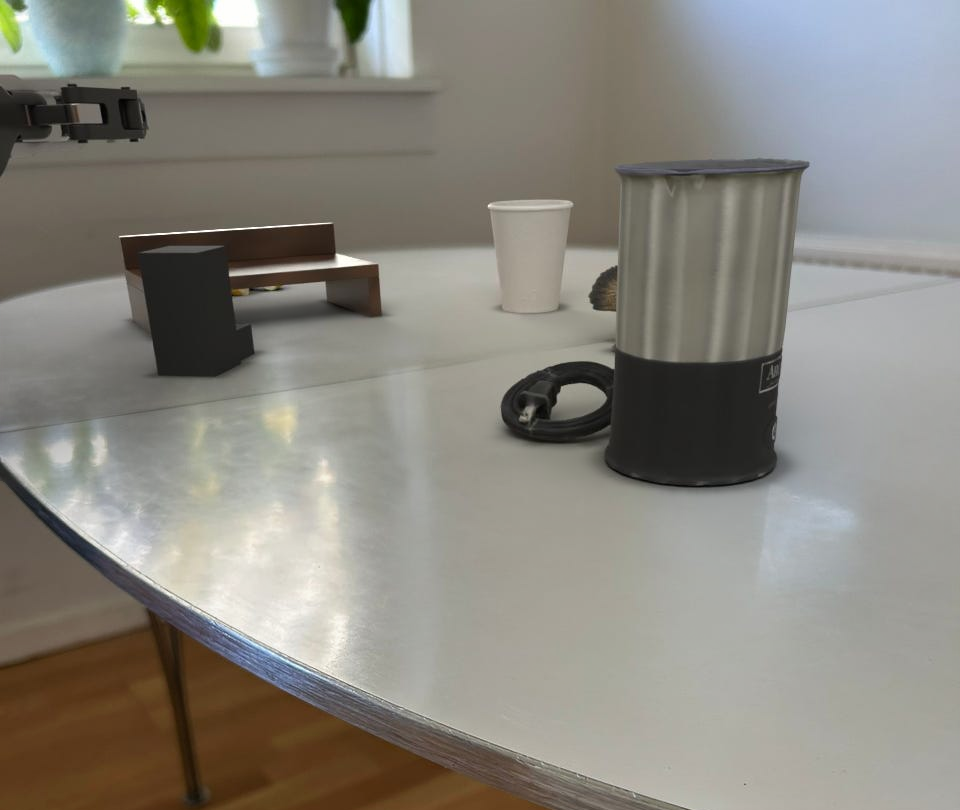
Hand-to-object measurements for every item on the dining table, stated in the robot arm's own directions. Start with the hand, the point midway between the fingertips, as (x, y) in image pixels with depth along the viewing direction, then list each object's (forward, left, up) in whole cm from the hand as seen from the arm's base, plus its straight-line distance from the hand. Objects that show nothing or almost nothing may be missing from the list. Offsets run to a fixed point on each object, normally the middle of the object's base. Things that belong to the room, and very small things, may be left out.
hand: (75, 119), depth 61 cm
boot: (-5, +12, -18) cm, 22 cm away
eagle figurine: (+22, +35, -18) cm, 45 cm away
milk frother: (+35, +7, -18) cm, 40 cm away
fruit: (-34, +43, -18) cm, 58 cm away
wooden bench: (-18, +30, -18) cm, 40 cm away
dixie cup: (+4, +47, -18) cm, 51 cm away
